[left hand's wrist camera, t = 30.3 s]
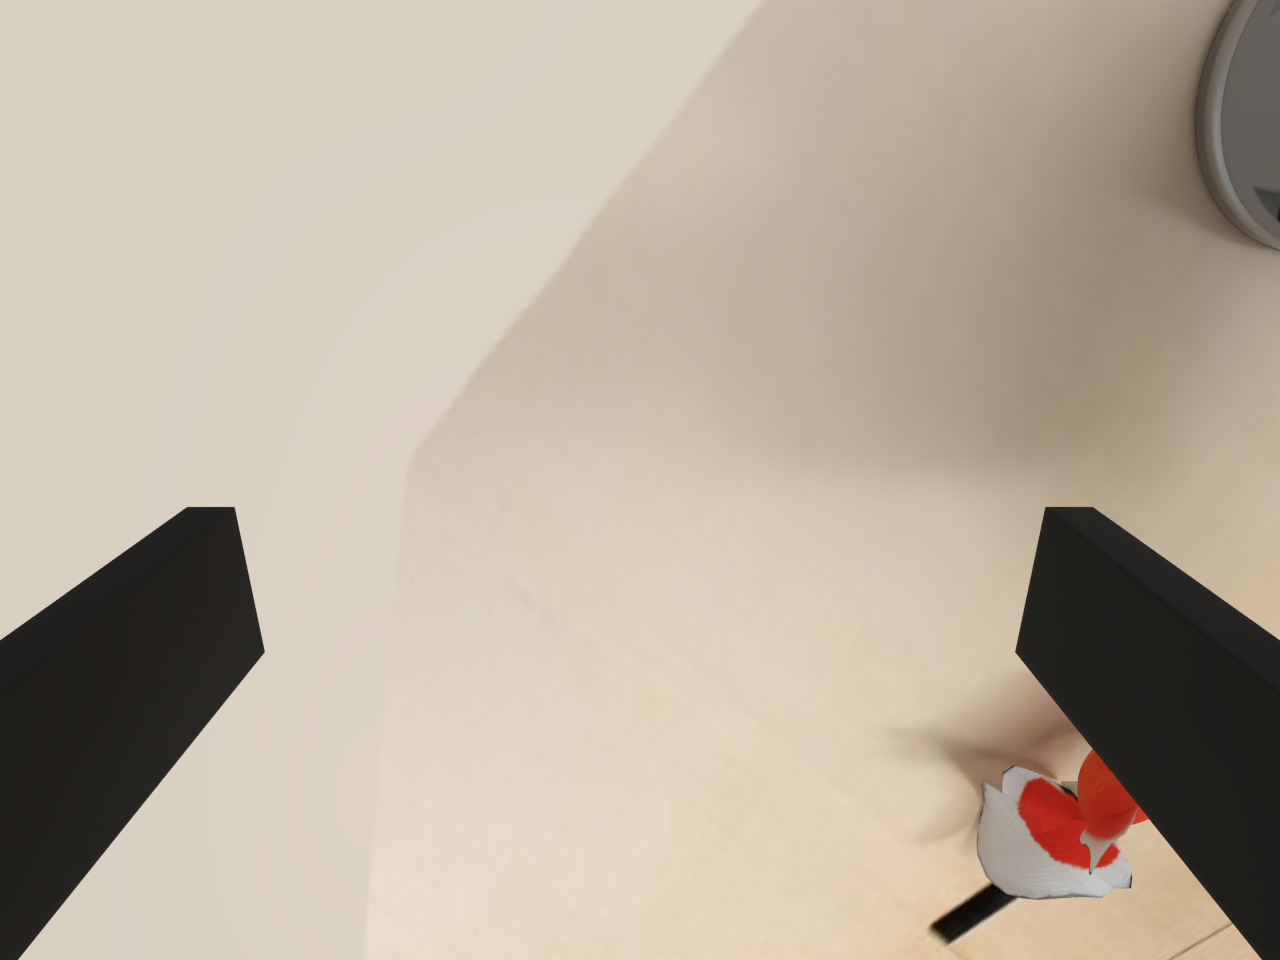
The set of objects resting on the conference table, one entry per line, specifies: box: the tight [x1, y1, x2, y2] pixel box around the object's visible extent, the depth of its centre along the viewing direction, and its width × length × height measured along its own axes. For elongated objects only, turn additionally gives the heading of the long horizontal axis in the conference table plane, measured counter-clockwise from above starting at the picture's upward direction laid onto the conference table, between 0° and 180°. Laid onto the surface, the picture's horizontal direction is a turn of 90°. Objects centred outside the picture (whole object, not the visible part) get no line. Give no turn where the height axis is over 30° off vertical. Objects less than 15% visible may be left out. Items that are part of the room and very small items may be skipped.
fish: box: [977, 750, 1149, 900], centre depth 45 cm, size 11×16×10 cm
